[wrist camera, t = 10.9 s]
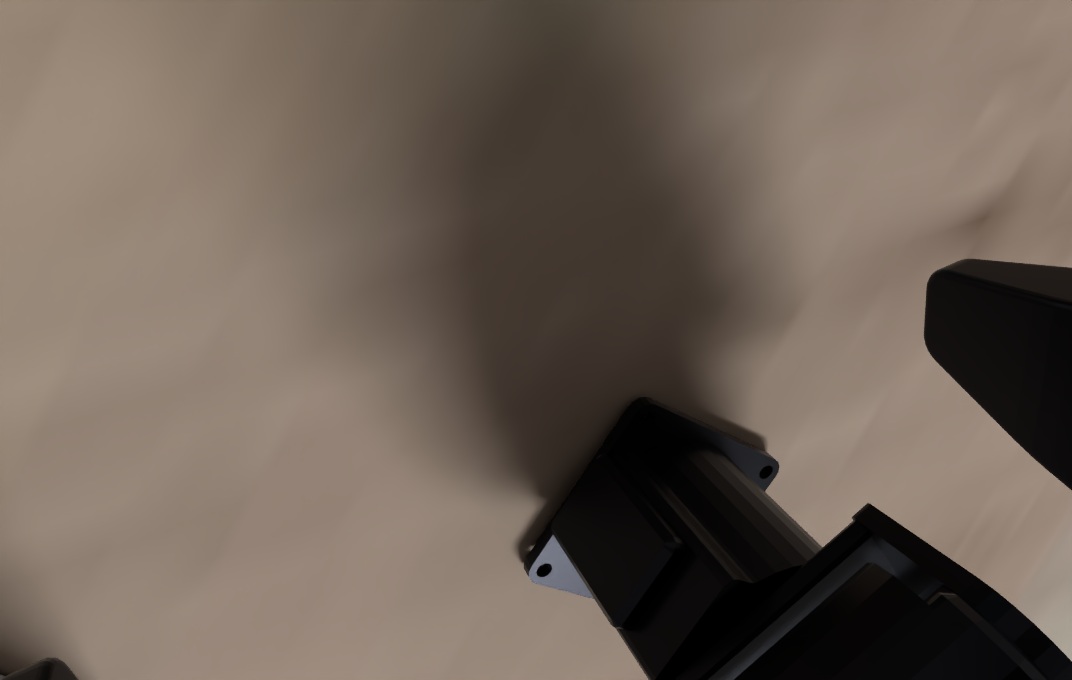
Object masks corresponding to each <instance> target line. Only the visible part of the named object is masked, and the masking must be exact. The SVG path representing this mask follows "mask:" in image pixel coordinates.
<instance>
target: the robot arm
mask: <svg viewBox="0 0 1072 680" xmlns="http://www.w3.org/2000/svg"><path fill="white" fill-rule="evenodd" d="M924 340H925V344H926V347H927V349H928V351H929V353H930V354H931V356H932V357H933V358H934V359H935V361H936V362H937V363H938V364H939V365H940V366H941V367H942V368H943V369H944V370H945V371H946V372H947V373H948V374H949V375H950V376H951V377H952V378H953V379H954V380H955V381H956V382H957V383H958V384H959V385H960V386H961V387H962V388H963V389H964V390H965V391H966V392H967V393H968V394H969V395H970V396H971V397H972V398H973V399H974V400H975V401H976V402H977V403H978V404H979V405H980V406H981V407H982V408H983V409H984V410H985V411H986V412H987V413H988V414H989V415H990V416H991V417H992V418H993V419H994V420H995V421H996V422H997V423H998V424H999V425H1000V426H1001V427H1002V428H1003V429H1004V430H1005V431H1006V432H1007V433H1008V434H1009V435H1010V436H1011V437H1012V438H1013V439H1014V440H1015V441H1016V442H1017V443H1018V444H1019V445H1020V446H1021V447H1022V448H1024V449H1025V450H1026V451H1027V452H1028V453H1029V454H1030V455H1031V456H1032V457H1033V458H1034V459H1035V460H1037V461H1038V462H1039V463H1040V464H1041V465H1042V466H1043V467H1045V468H1046V469H1047V470H1048V471H1049V472H1050V473H1052V474H1053V475H1054V476H1055V477H1056V478H1058V479H1059V480H1060V481H1061V482H1062V483H1064V484H1065V485H1066V486H1067V487H1068V488H1070V489H1071V490H1072V268H1068V267H1057V266H1046V265H1035V264H1024V263H1013V262H1002V261H991V260H980V259H964V260H960V261H957V262H955V263H953V264H951V265H948V266H946V267H944V268H941V269H939V270H937V271H935V272H934V273H933V274H932V275H931V277H930V278H929V280H928V283H927V290H926V307H925V324H924ZM646 412H648V413H647V415H646V416H645V417H644V418H643V419H641V420H640V417H641V416H642V415H643V414H644V413H646ZM778 470H779V464H778V462H777V461H776V460H775V459H774V458H773V457H772V456H771V455H769V454H768V453H767V452H765V451H763V450H760V449H758V448H756V447H754V446H752V445H750V444H748V443H745V442H743V441H741V440H739V439H737V438H735V437H733V436H730V435H728V434H726V433H724V432H722V431H720V430H717V429H715V428H713V427H711V426H709V425H707V424H705V423H702V422H700V421H698V420H696V419H694V418H692V417H689V416H687V415H685V414H683V413H681V412H679V411H677V410H674V409H672V408H670V407H668V406H666V405H664V404H662V403H659V402H657V401H655V400H653V399H651V398H647V397H643V398H638V399H637V400H635V401H633V402H632V403H631V404H630V405H629V406H628V408H627V409H626V411H625V412H624V414H623V415H622V417H621V418H620V420H619V421H618V423H617V424H616V426H615V427H614V429H613V430H612V432H611V433H610V435H609V436H608V437H607V439H606V440H605V442H604V443H603V445H602V446H601V448H600V449H599V451H598V452H597V454H596V455H595V457H594V458H593V460H592V461H591V463H590V464H589V466H588V467H587V469H586V470H585V472H584V473H583V475H582V476H581V478H580V479H579V481H578V482H577V484H576V485H575V486H574V488H573V489H572V491H571V492H570V494H569V495H568V497H567V498H566V500H565V501H564V503H563V504H562V506H561V507H560V509H559V510H558V512H557V513H556V515H555V516H554V518H553V519H552V521H551V522H550V524H549V525H548V527H547V528H546V530H545V531H544V532H543V534H542V535H541V537H540V538H539V540H538V541H537V543H536V544H535V546H534V547H533V549H532V550H531V552H530V553H529V555H528V556H527V558H526V560H525V562H524V569H525V571H526V573H527V575H528V576H529V578H530V580H531V581H532V582H534V583H536V584H540V585H544V586H547V587H551V588H555V589H559V590H563V591H566V592H570V593H574V594H578V595H582V596H585V597H589V598H593V599H595V601H596V602H597V604H598V605H599V607H600V608H601V610H602V611H603V613H604V615H605V616H606V618H607V619H608V621H609V622H610V624H611V625H612V626H613V627H615V628H616V629H617V631H618V633H619V634H620V636H621V637H622V639H623V640H624V642H625V643H626V645H627V646H628V648H629V650H630V651H631V653H632V654H633V656H634V657H635V659H636V660H637V662H638V663H639V665H640V667H641V668H642V670H643V671H644V673H645V674H646V676H647V677H648V679H649V680H1072V661H1071V660H1070V659H1069V658H1068V657H1067V656H1066V655H1065V654H1064V653H1063V652H1062V651H1061V650H1060V649H1059V648H1058V647H1057V646H1056V645H1055V644H1054V643H1053V642H1052V641H1051V640H1050V639H1049V638H1048V637H1047V636H1046V635H1045V634H1044V633H1043V632H1042V631H1041V630H1040V629H1039V628H1038V627H1037V626H1036V625H1035V624H1034V623H1032V622H1031V621H1030V620H1029V619H1028V618H1027V617H1026V616H1025V615H1024V614H1022V613H1021V612H1020V611H1019V610H1018V609H1017V608H1016V607H1015V606H1013V605H1012V604H1011V603H1010V602H1009V601H1007V600H1006V599H1005V598H1004V597H1002V596H1001V595H1000V594H999V593H998V592H996V591H995V590H994V589H992V588H991V587H990V586H988V585H987V584H986V583H984V582H983V581H982V580H980V579H979V578H977V577H976V576H974V575H973V574H972V573H970V572H969V571H967V570H966V569H964V568H963V567H961V566H960V565H958V564H957V563H956V562H954V561H953V560H951V559H950V558H948V557H947V556H945V555H944V554H942V553H941V552H939V551H938V550H937V549H935V548H934V547H932V546H931V545H929V544H928V543H926V542H925V541H923V540H922V539H920V538H919V537H918V536H916V535H915V534H913V533H912V532H910V531H909V530H907V529H906V528H904V527H903V526H902V525H900V524H899V523H897V522H896V521H894V520H893V519H891V518H890V517H888V516H887V515H885V514H884V513H883V512H881V511H880V510H878V509H877V508H875V507H874V506H872V505H871V504H869V503H867V504H866V505H865V506H864V507H863V508H862V509H861V510H859V511H858V512H857V513H856V514H855V515H854V516H853V517H852V519H853V520H854V521H853V522H851V523H850V524H849V525H848V526H847V527H846V528H845V529H844V530H842V531H841V532H840V533H839V534H838V535H837V536H836V537H834V538H833V539H832V540H831V541H830V542H829V543H828V544H826V545H825V546H824V547H822V546H820V545H819V544H818V543H817V542H816V541H815V540H814V539H813V538H812V537H811V536H810V535H809V534H808V533H807V532H806V531H805V530H804V529H803V528H802V527H801V526H800V525H799V524H798V523H797V522H796V521H794V520H793V519H792V518H791V517H790V516H789V515H788V514H787V513H786V512H785V511H784V510H783V509H782V508H781V507H780V506H779V505H778V504H777V503H776V502H775V501H774V500H773V499H772V498H771V497H770V496H768V495H767V494H766V493H765V490H766V489H767V488H768V486H769V485H770V483H771V482H772V481H773V479H774V478H775V477H776V475H777V473H778ZM545 563H546V564H545ZM543 564H545V565H544V566H543V567H540V566H541V565H543ZM539 567H540V568H539ZM1 680H78V679H77V677H76V676H75V675H74V674H73V672H72V671H71V670H70V669H69V667H68V666H67V665H66V664H65V663H64V662H63V661H61V660H59V659H58V658H46V659H43V660H41V661H38V662H36V663H34V664H32V665H29V666H27V667H25V668H22V669H20V670H18V671H15V672H13V673H11V674H9V675H7V676H6V677H4V678H2V679H1Z"/></svg>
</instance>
